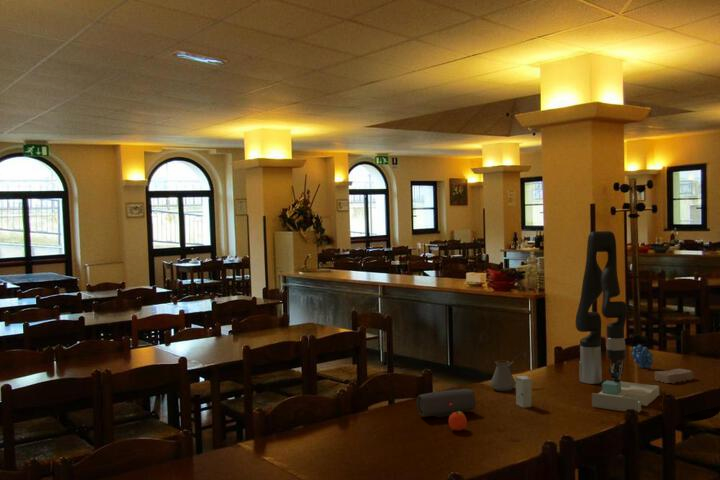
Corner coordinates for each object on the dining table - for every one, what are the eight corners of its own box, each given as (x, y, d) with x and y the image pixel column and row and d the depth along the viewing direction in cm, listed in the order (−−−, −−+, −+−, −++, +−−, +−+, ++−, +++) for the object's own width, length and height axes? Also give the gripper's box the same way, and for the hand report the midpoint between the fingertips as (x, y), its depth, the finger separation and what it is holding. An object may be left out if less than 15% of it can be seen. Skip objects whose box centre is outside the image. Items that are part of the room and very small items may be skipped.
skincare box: (515, 404, 279) (514, 376, 279) (524, 403, 281) (523, 375, 280) (523, 408, 273) (522, 379, 273) (532, 406, 275) (531, 378, 274)
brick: (679, 376, 315) (679, 366, 315) (694, 380, 307) (694, 370, 307) (654, 381, 308) (653, 371, 308) (668, 385, 300) (668, 375, 300)
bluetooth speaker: (424, 421, 261) (423, 396, 261) (416, 415, 270) (415, 391, 270) (477, 415, 267) (476, 390, 267) (467, 408, 276) (466, 385, 276)
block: (602, 392, 277) (601, 383, 277) (606, 389, 282) (606, 380, 282) (616, 394, 273) (616, 385, 273) (621, 391, 278) (620, 382, 278)
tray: (592, 406, 271) (591, 393, 271) (616, 389, 295) (616, 377, 295) (637, 413, 260) (637, 399, 259) (659, 395, 284) (658, 382, 284)
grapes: (627, 367, 335) (626, 344, 335) (634, 365, 339) (634, 342, 339) (648, 371, 326) (648, 347, 326) (656, 369, 330) (655, 345, 330)
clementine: (456, 425, 254) (455, 407, 254) (472, 428, 250) (471, 410, 250) (445, 431, 248) (444, 412, 248) (461, 434, 244) (460, 415, 243)
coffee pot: (504, 393, 297) (502, 360, 296) (485, 389, 306) (484, 357, 306) (535, 385, 309) (534, 353, 309) (516, 381, 318) (515, 350, 318)
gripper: (611, 344, 288) (613, 383, 289) (601, 349, 278) (603, 390, 279) (629, 345, 284) (630, 385, 284) (620, 351, 273) (621, 392, 274)
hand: (617, 387), depth 281 cm, fingers closed
